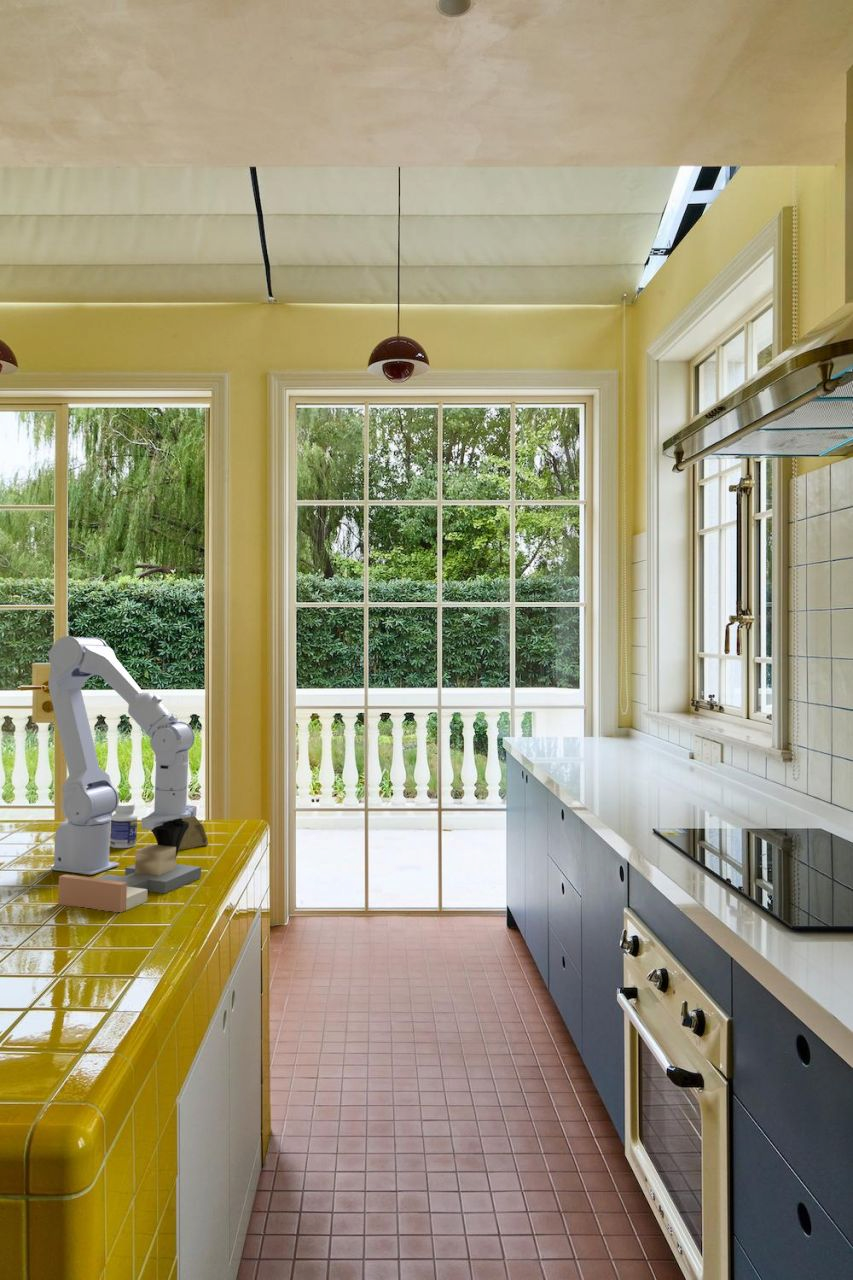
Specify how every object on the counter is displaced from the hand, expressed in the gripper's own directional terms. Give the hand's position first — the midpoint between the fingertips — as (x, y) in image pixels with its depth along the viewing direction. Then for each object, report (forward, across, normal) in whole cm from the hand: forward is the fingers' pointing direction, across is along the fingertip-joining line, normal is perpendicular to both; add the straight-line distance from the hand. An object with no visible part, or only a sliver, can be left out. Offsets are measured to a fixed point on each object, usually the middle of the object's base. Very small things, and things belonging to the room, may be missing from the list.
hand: (168, 861), depth 156 cm
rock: (+3, +21, +10) cm, 23 cm away
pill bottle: (+3, +17, +22) cm, 28 cm away
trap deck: (+3, -10, 0) cm, 10 cm away
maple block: (+1, -4, 0) cm, 4 cm away
